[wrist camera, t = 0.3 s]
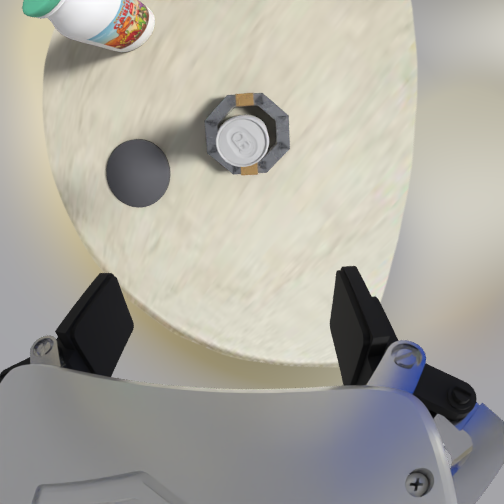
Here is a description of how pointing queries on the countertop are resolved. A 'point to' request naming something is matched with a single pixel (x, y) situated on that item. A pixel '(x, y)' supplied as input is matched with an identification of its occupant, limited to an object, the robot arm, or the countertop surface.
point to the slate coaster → (138, 173)
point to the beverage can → (242, 140)
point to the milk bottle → (97, 21)
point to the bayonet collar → (271, 109)
